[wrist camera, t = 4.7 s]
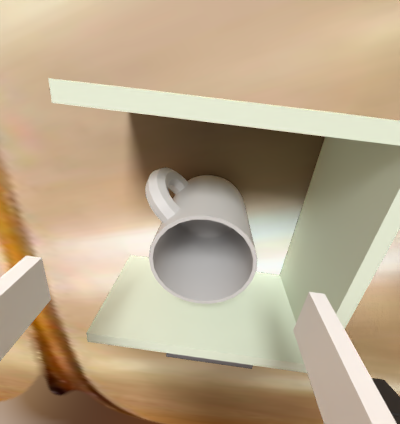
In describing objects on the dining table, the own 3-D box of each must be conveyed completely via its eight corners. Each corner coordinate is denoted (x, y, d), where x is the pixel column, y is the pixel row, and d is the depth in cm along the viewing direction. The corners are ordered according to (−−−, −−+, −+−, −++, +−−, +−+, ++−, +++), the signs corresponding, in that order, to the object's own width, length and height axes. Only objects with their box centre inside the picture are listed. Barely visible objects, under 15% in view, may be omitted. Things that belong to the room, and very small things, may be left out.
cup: (203, 250, 26) (196, 317, 18) (138, 182, 23) (95, 226, 15) (259, 213, 24) (279, 272, 16) (194, 132, 21) (178, 154, 13)
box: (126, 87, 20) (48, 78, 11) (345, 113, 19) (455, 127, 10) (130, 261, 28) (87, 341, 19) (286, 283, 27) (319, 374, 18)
